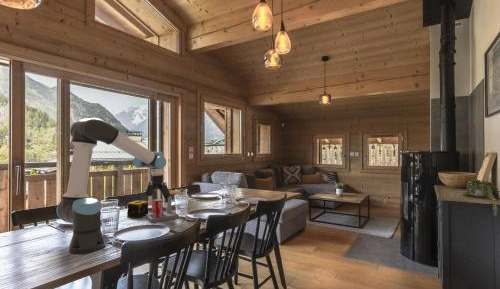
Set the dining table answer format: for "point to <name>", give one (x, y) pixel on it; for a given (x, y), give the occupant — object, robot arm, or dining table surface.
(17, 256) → the dining table surface
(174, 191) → the clip
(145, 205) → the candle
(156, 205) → the soda can
